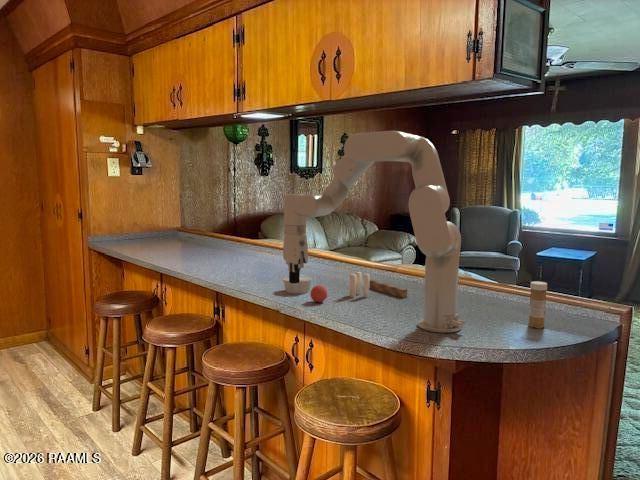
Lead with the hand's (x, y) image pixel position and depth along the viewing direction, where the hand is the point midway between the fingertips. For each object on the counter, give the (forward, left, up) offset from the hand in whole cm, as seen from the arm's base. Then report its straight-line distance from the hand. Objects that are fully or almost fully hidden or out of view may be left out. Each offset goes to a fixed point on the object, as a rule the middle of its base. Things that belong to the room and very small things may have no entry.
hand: (294, 282), depth 168 cm
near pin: (-3, -29, -8) cm, 30 cm away
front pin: (0, -25, -8) cm, 26 cm away
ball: (0, -10, -5) cm, 11 cm away
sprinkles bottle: (-59, -50, -8) cm, 78 cm away
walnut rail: (0, -41, -8) cm, 42 cm away
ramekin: (+19, -12, -8) cm, 24 cm away
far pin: (+2, -29, -8) cm, 30 cm away
